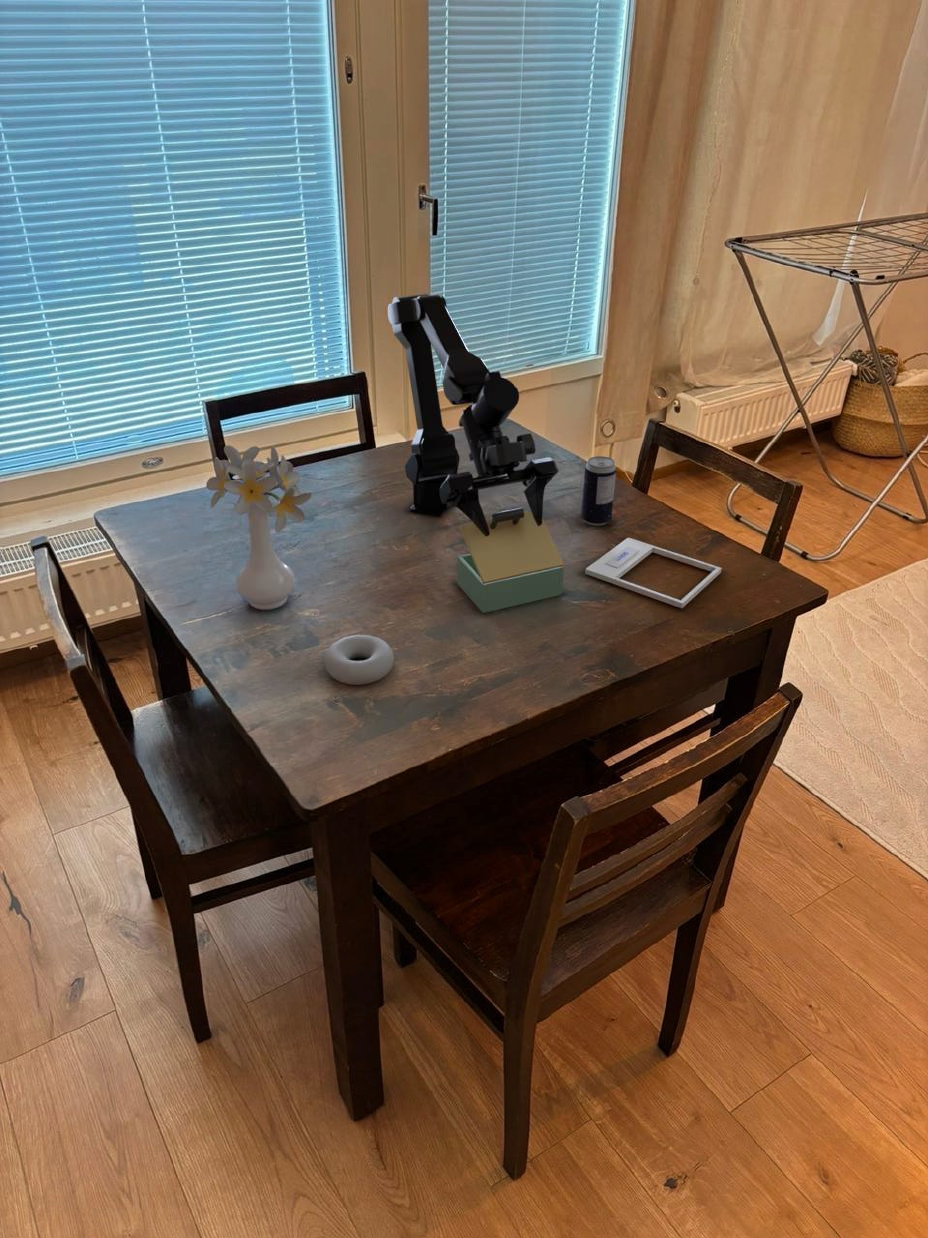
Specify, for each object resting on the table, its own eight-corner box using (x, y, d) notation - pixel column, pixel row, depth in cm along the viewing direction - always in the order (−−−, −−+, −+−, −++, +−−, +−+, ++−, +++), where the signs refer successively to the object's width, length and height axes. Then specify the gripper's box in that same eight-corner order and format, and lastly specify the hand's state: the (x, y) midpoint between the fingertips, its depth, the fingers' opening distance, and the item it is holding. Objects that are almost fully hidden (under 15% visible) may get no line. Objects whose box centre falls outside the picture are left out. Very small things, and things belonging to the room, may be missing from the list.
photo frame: (628, 536, 165) (721, 566, 156) (627, 541, 166) (720, 572, 156) (585, 567, 155) (682, 602, 146) (585, 573, 156) (681, 608, 147)
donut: (393, 648, 137) (326, 650, 136) (393, 629, 135) (324, 630, 135) (395, 689, 129) (323, 691, 128) (394, 669, 127) (321, 670, 126)
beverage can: (610, 514, 175) (616, 455, 169) (611, 528, 170) (617, 468, 164) (580, 513, 176) (585, 454, 169) (580, 526, 171) (585, 466, 164)
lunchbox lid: (459, 526, 147) (464, 512, 143) (537, 511, 152) (545, 496, 148) (482, 584, 143) (489, 570, 139) (563, 566, 148) (571, 552, 144)
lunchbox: (457, 583, 153) (457, 556, 150) (532, 566, 158) (534, 539, 155) (482, 613, 145) (483, 585, 143) (561, 594, 150) (563, 567, 147)
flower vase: (286, 637, 139) (268, 485, 126) (203, 600, 148) (178, 454, 135) (343, 600, 148) (332, 455, 135) (261, 568, 157) (243, 428, 144)
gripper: (445, 425, 137) (475, 523, 134) (556, 408, 143) (586, 501, 140) (426, 456, 147) (454, 547, 144) (530, 439, 153) (558, 526, 151)
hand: (514, 530), depth 145 cm, fingers open, 9 cm apart
